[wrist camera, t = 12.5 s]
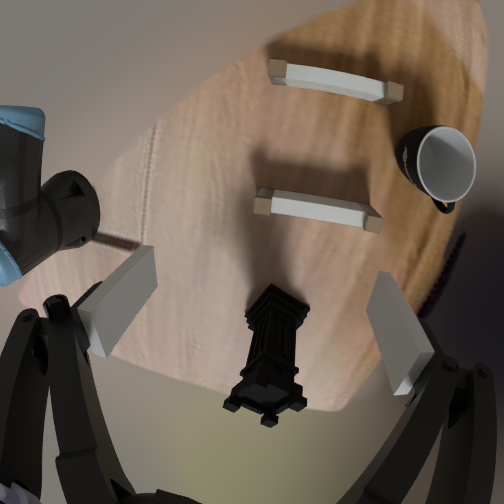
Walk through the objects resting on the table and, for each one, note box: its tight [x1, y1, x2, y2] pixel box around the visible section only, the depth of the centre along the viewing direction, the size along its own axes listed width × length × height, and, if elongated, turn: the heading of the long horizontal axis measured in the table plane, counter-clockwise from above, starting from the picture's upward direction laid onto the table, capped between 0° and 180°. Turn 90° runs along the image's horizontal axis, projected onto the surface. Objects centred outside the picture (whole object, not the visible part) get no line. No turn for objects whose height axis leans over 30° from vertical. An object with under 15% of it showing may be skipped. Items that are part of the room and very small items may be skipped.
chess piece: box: [223, 283, 310, 428], centre depth 37 cm, size 8×8×20 cm
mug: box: [396, 125, 476, 214], centre depth 28 cm, size 12×9×10 cm
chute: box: [253, 59, 404, 233], centre depth 31 cm, size 16×19×6 cm
